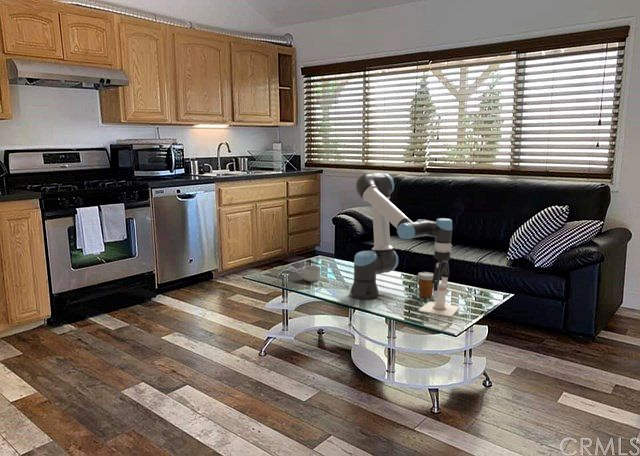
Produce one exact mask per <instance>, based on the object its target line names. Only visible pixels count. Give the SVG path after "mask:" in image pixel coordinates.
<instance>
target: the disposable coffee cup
mask: <svg viewBox="0 0 640 456" xmlns="http://www.w3.org/2000/svg"><path fill="white" fill-rule="evenodd" d="M433 274H434V272H429V271H422V272H418V274H417V279H418V290H419V291H418V292H419V296H420V297H421V298H431V297H433V284H432V280H433Z"/></svg>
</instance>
